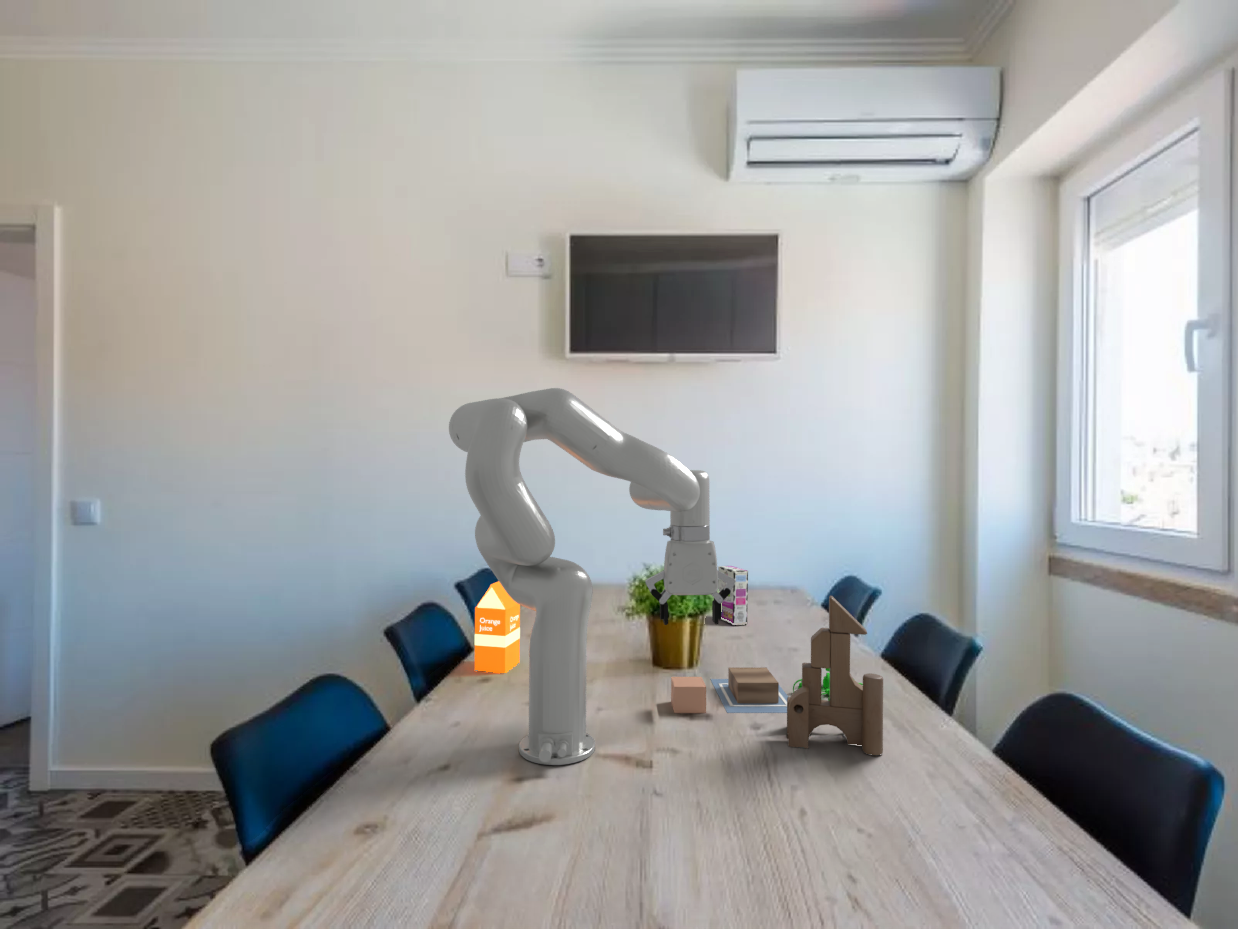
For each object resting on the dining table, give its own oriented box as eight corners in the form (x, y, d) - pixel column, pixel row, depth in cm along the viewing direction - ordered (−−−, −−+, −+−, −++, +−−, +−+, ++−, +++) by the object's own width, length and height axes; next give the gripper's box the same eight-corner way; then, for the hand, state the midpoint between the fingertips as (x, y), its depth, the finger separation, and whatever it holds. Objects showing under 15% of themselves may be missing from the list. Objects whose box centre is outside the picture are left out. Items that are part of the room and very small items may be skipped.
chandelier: (876, 718, 128) (876, 682, 128) (795, 712, 131) (795, 676, 131) (863, 692, 143) (864, 659, 143) (790, 687, 146) (791, 655, 146)
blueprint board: (801, 717, 127) (801, 712, 127) (727, 718, 127) (727, 712, 127) (774, 683, 147) (774, 678, 147) (710, 683, 147) (710, 678, 147)
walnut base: (778, 703, 132) (778, 682, 132) (737, 703, 132) (738, 682, 132) (766, 686, 142) (766, 667, 142) (728, 686, 142) (728, 667, 142)
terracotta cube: (706, 718, 127) (706, 686, 127) (674, 718, 127) (674, 686, 127) (701, 707, 133) (701, 676, 133) (671, 707, 133) (671, 676, 133)
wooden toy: (786, 747, 114) (787, 599, 114) (787, 732, 121) (788, 592, 121) (884, 758, 110) (885, 605, 110) (879, 741, 117) (880, 597, 117)
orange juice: (473, 671, 155) (474, 583, 155) (490, 660, 163) (490, 577, 163) (505, 674, 153) (506, 585, 153) (520, 663, 161) (521, 579, 161)
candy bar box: (748, 625, 201) (749, 570, 201) (733, 626, 199) (733, 571, 199) (731, 617, 212) (731, 565, 212) (716, 618, 210) (717, 565, 210)
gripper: (646, 537, 126) (647, 628, 126) (738, 536, 126) (739, 627, 127) (643, 532, 134) (644, 618, 134) (731, 531, 134) (731, 617, 134)
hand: (690, 622), depth 130 cm, fingers open, 9 cm apart
